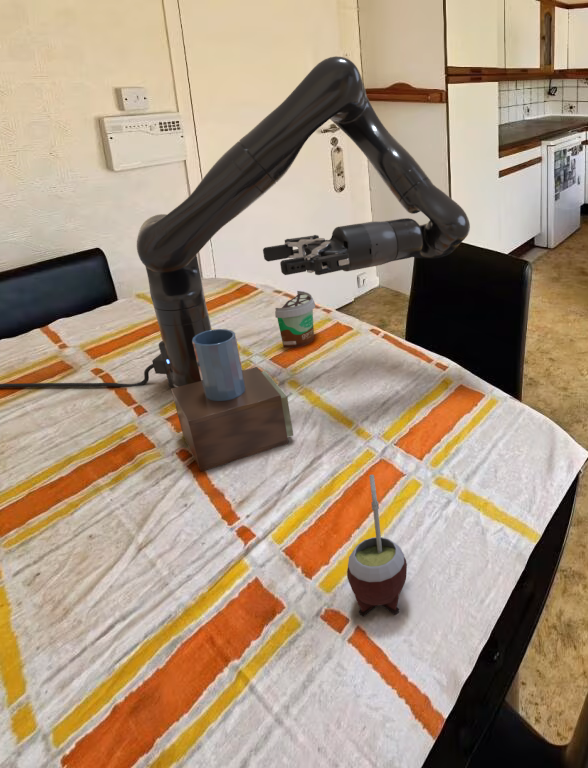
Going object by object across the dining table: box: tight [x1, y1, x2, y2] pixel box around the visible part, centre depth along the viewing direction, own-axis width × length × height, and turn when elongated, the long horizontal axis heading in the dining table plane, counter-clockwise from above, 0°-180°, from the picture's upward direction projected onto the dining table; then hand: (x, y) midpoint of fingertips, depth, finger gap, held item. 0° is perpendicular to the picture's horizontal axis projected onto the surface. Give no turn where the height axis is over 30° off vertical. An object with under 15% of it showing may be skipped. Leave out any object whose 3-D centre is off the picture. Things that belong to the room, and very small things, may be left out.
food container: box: [274, 290, 316, 349], centre depth 143 cm, size 12×6×10 cm, turn 168°
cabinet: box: [170, 366, 289, 472], centre depth 106 cm, size 15×13×10 cm
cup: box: [192, 328, 246, 401], centre depth 101 cm, size 6×6×10 cm
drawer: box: [261, 370, 294, 438], centre depth 107 cm, size 15×11×8 cm
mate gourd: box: [346, 474, 408, 618], centre depth 74 cm, size 8×8×15 cm
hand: (272, 261), depth 100 cm, fingers open, 8 cm apart
